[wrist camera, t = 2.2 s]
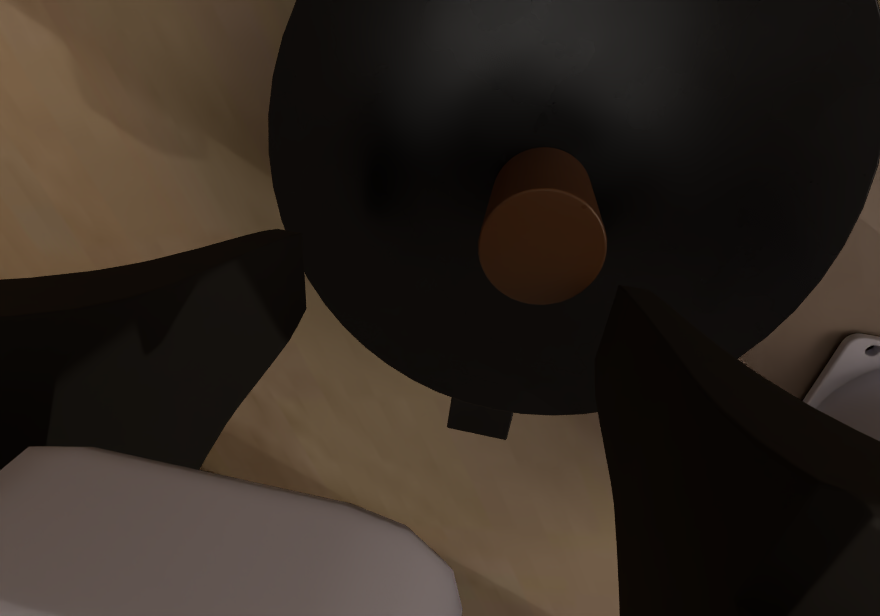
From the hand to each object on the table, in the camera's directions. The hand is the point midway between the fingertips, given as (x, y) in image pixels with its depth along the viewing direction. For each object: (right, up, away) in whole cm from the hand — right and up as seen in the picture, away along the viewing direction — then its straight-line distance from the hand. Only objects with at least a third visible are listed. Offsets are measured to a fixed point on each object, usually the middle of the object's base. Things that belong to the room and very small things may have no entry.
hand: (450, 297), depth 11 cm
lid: (+3, +3, +2) cm, 5 cm away
